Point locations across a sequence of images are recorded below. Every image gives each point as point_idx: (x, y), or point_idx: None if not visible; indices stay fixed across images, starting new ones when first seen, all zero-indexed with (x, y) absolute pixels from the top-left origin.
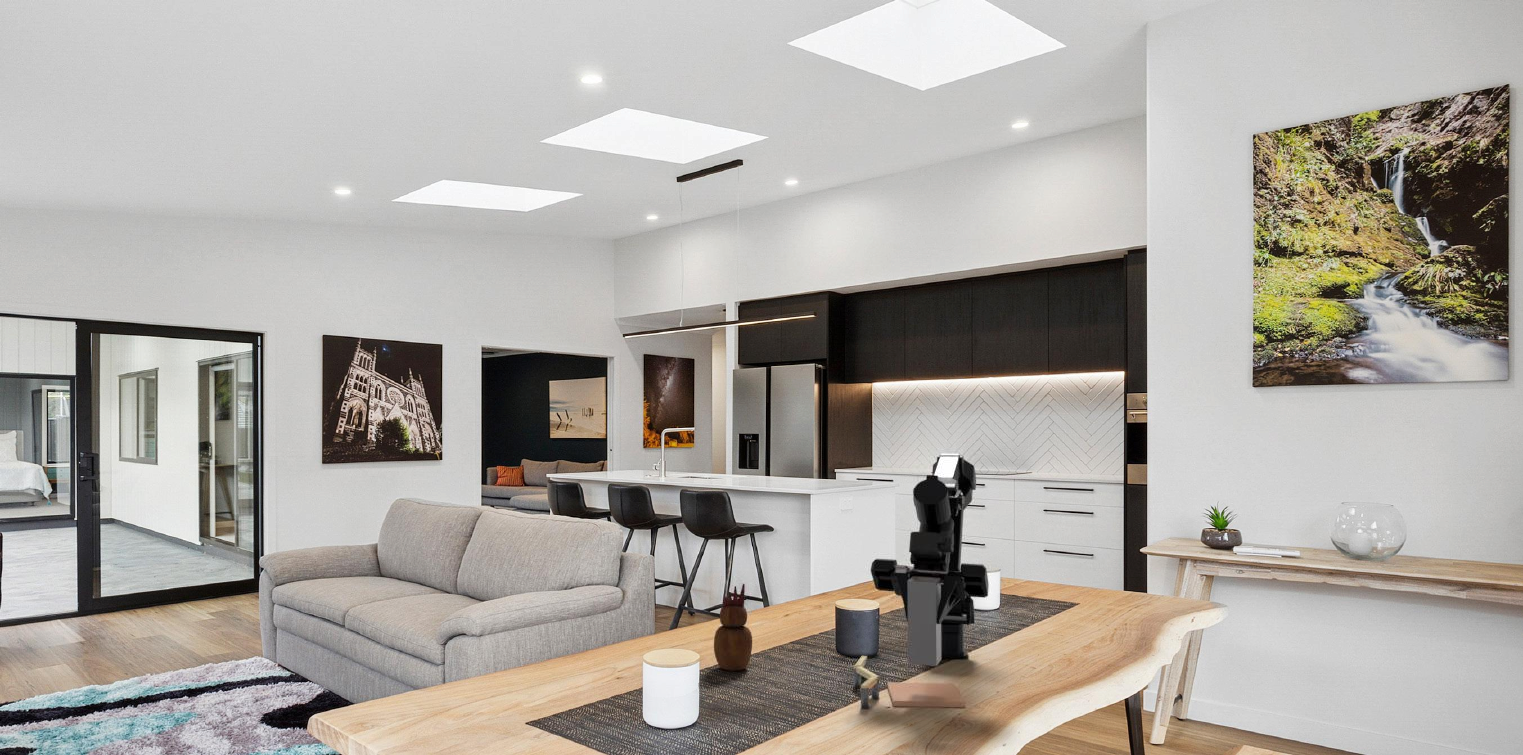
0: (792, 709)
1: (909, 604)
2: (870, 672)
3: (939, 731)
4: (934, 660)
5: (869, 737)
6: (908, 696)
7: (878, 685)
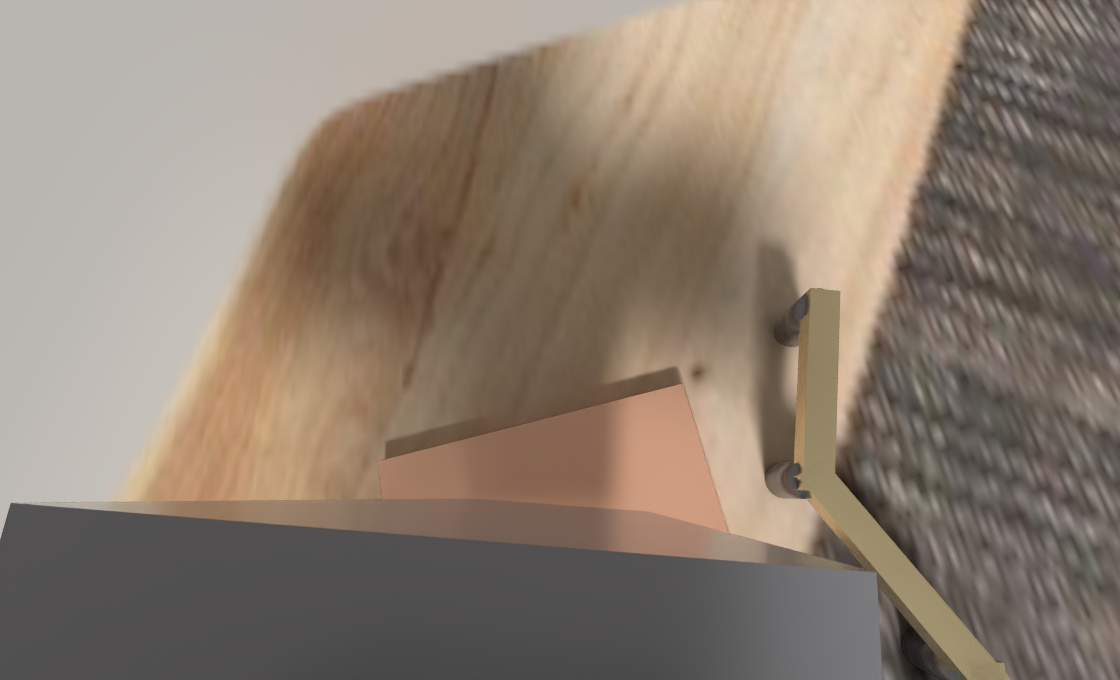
0: (1064, 225)
1: (693, 529)
2: (864, 543)
3: (472, 160)
4: (481, 499)
5: (689, 41)
6: (629, 467)
7: (784, 471)
